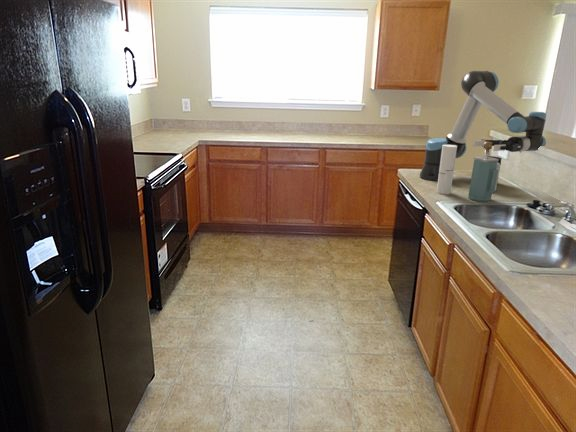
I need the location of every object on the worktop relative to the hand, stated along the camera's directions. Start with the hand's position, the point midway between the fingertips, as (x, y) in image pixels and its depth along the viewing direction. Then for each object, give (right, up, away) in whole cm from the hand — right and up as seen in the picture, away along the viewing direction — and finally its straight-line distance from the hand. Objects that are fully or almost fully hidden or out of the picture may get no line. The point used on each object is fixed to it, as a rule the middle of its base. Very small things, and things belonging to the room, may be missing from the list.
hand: (483, 145), depth 212 cm
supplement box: (+15, -19, +30) cm, 38 cm away
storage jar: (+22, -15, +42) cm, 50 cm away
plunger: (+2, -22, +8) cm, 24 cm away
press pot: (+3, -26, +8) cm, 27 cm away
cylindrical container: (-12, -22, +21) cm, 32 cm away
